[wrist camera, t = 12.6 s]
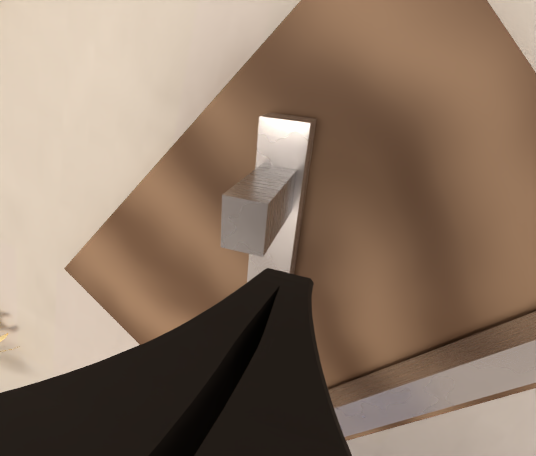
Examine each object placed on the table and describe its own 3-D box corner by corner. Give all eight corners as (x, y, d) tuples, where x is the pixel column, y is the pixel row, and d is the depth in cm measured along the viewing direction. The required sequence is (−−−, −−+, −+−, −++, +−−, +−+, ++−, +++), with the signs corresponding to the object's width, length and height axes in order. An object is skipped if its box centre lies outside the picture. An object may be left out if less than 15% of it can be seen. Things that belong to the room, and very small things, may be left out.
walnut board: (262, 455, 28) (259, 464, 28) (73, 263, 25) (64, 268, 25) (699, 325, 15) (714, 337, 14) (404, -108, 12) (406, -120, 11)
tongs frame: (256, 443, 26) (246, 473, 24) (210, 397, 25) (197, 424, 23) (633, 321, 15) (672, 359, 13) (569, 231, 14) (600, 257, 12)
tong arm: (276, 390, 23) (246, 484, 18) (246, 381, 23) (208, 469, 18) (316, 118, 15) (284, 142, 10) (269, 112, 16) (214, 132, 10)
